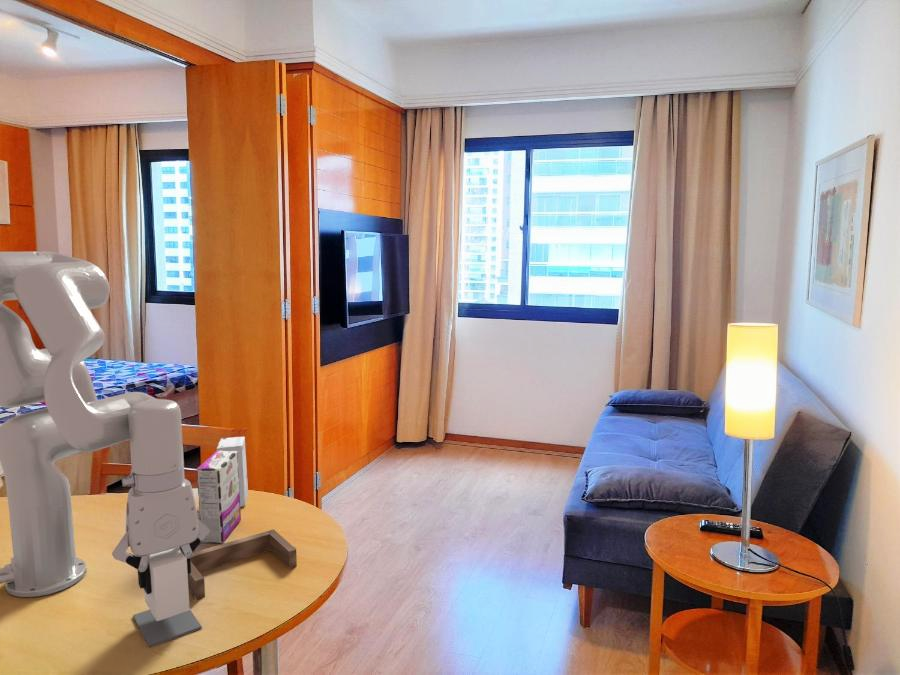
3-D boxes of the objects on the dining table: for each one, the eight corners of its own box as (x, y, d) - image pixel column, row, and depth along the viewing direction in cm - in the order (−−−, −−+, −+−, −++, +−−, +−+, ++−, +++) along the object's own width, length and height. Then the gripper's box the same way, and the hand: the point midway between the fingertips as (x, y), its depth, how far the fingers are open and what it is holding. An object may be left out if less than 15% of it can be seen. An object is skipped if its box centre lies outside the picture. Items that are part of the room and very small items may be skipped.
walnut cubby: (196, 599, 113) (195, 580, 112) (178, 574, 121) (177, 556, 120) (296, 566, 125) (296, 549, 124) (274, 545, 133) (273, 529, 132)
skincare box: (245, 507, 150) (243, 446, 148) (218, 509, 149) (215, 447, 147) (248, 493, 159) (246, 435, 156) (222, 494, 157) (220, 436, 155)
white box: (156, 621, 101) (153, 568, 100) (145, 601, 106) (141, 550, 105) (189, 610, 104) (186, 558, 103) (176, 591, 110) (173, 541, 108)
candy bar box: (219, 519, 144) (216, 449, 141) (241, 520, 144) (239, 450, 141) (199, 543, 133) (195, 468, 130) (223, 544, 133) (220, 468, 130)
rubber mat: (149, 647, 100) (149, 645, 100) (133, 617, 107) (133, 614, 107) (201, 628, 105) (201, 626, 105) (182, 600, 112) (182, 598, 112)
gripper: (104, 499, 94) (113, 613, 97) (220, 473, 104) (225, 577, 107) (93, 483, 99) (102, 592, 102) (205, 460, 110) (210, 559, 113)
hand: (165, 583), depth 105 cm, fingers closed on white box, 5 cm apart
